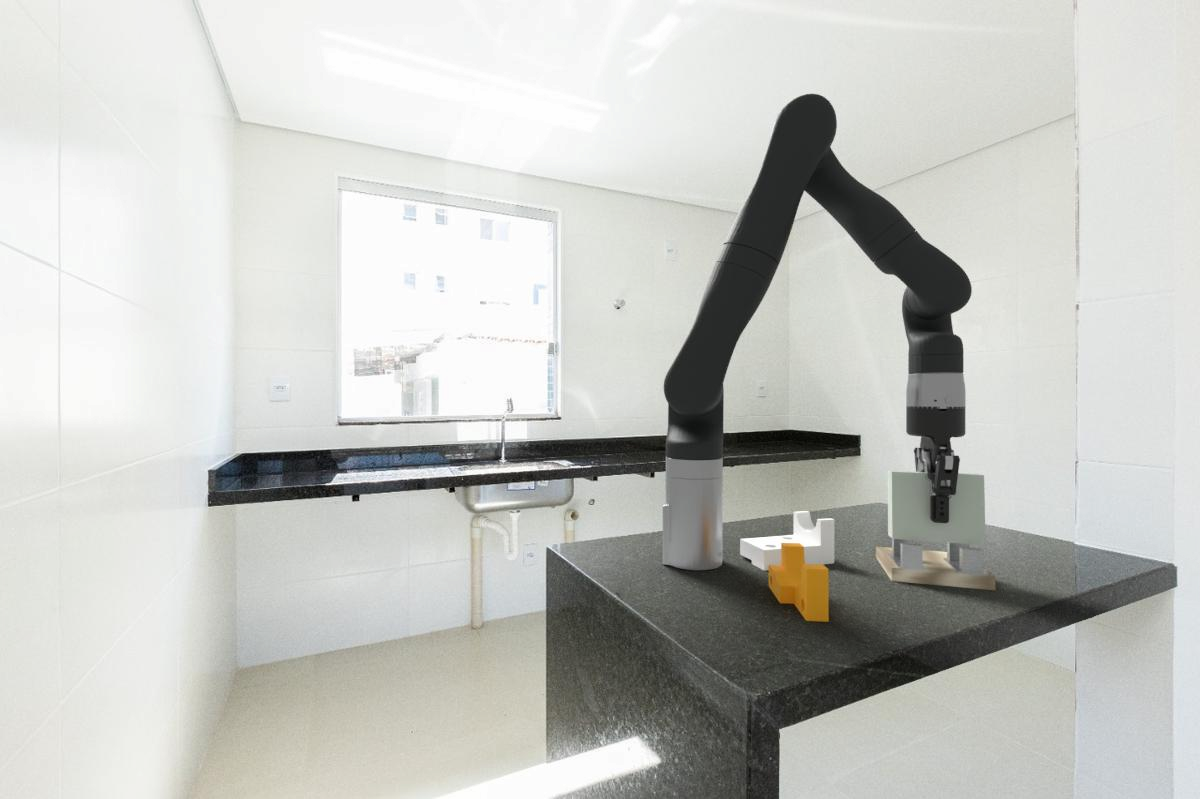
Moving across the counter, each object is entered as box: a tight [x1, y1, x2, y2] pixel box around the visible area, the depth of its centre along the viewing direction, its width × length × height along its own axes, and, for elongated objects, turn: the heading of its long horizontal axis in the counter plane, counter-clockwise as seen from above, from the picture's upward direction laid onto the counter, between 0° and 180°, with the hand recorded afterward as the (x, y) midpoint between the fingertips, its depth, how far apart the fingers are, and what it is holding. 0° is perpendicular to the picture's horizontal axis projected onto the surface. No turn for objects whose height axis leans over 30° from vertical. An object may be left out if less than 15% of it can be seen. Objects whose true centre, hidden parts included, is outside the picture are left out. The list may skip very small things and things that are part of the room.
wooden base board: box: [875, 546, 996, 591], centre depth 83 cm, size 13×12×2 cm
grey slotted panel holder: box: [889, 538, 988, 576], centre depth 81 cm, size 11×7×4 cm, turn 73°
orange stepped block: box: [768, 543, 830, 623], centre depth 71 cm, size 12×4×6 cm, turn 175°
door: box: [887, 470, 987, 546], centre depth 80 cm, size 12×4×10 cm, turn 73°
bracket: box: [739, 510, 835, 571], centre depth 89 cm, size 13×7×8 cm, turn 106°
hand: (934, 518), depth 81 cm, fingers closed on door, 4 cm apart
